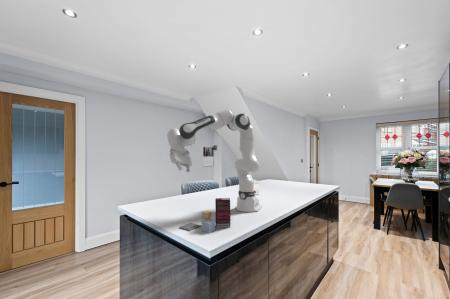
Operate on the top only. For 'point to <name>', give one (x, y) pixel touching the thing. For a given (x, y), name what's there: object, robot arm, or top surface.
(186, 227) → the charcoal mat
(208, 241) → the top surface
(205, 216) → the oak block
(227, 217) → the supplement box
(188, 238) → the top surface
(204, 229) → the blue-grey cube
